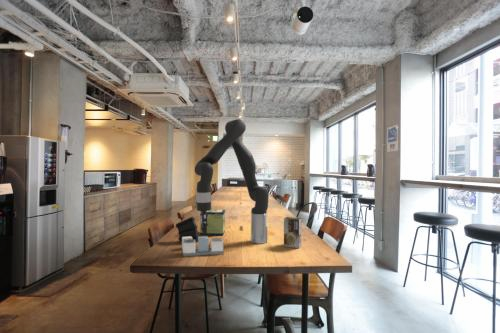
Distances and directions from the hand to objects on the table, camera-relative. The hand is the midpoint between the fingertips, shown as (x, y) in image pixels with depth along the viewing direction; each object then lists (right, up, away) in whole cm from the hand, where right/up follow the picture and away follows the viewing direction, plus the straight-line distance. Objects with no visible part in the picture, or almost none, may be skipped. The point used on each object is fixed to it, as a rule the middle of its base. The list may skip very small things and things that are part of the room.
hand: (203, 232), depth 135 cm
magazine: (-14, -11, +20) cm, 27 cm away
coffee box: (+48, -12, +15) cm, 52 cm away
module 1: (-11, -11, +8) cm, 17 cm away
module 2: (-1, -9, 0) cm, 9 cm away
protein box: (-1, -11, +41) cm, 42 cm away
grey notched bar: (0, -11, 0) cm, 11 cm away
